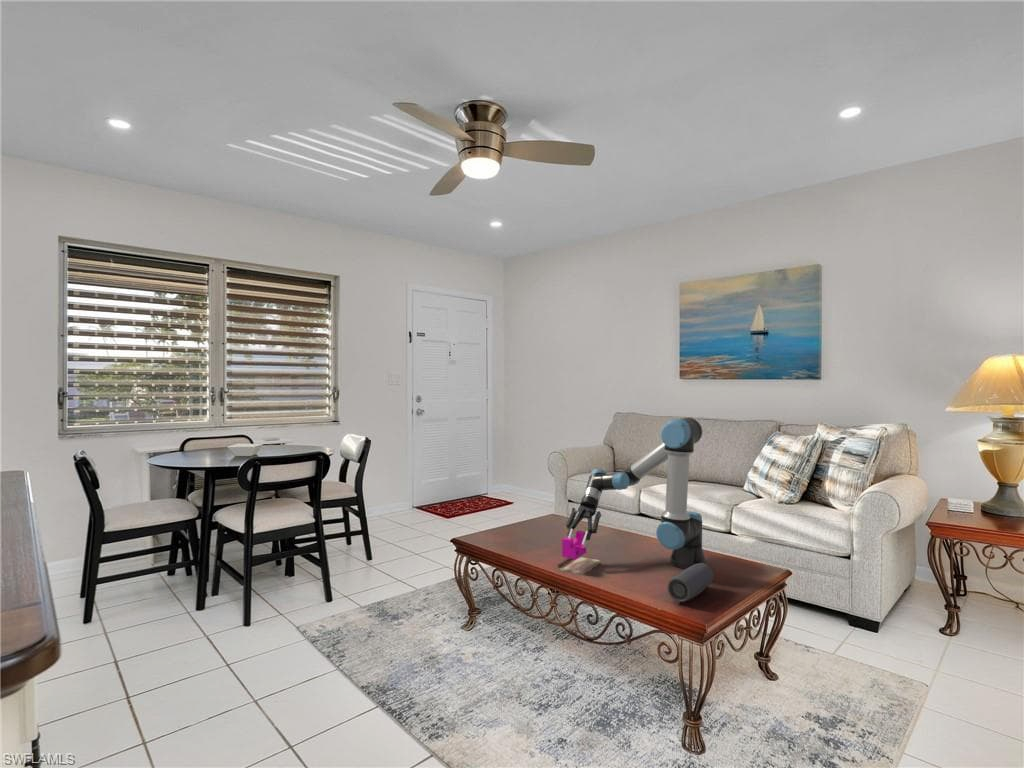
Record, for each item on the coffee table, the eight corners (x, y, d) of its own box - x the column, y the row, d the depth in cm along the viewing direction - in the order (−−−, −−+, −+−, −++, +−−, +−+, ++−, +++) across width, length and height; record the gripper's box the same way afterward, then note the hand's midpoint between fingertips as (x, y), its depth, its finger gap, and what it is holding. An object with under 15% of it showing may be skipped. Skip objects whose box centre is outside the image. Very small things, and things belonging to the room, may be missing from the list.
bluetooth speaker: (691, 584, 214) (691, 559, 214) (714, 590, 208) (714, 564, 208) (665, 601, 197) (665, 574, 197) (690, 608, 190) (690, 580, 190)
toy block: (575, 559, 226) (575, 541, 226) (562, 556, 229) (562, 539, 229) (590, 549, 238) (591, 533, 238) (578, 547, 242) (578, 530, 241)
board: (600, 562, 239) (600, 557, 239) (583, 575, 224) (583, 569, 224) (575, 558, 245) (575, 552, 245) (557, 569, 230) (557, 564, 230)
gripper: (612, 507, 244) (599, 552, 230) (573, 501, 254) (558, 545, 240) (608, 497, 239) (594, 543, 226) (568, 492, 249) (552, 536, 235)
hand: (575, 544), depth 233 cm, fingers closed on toy block, 6 cm apart
